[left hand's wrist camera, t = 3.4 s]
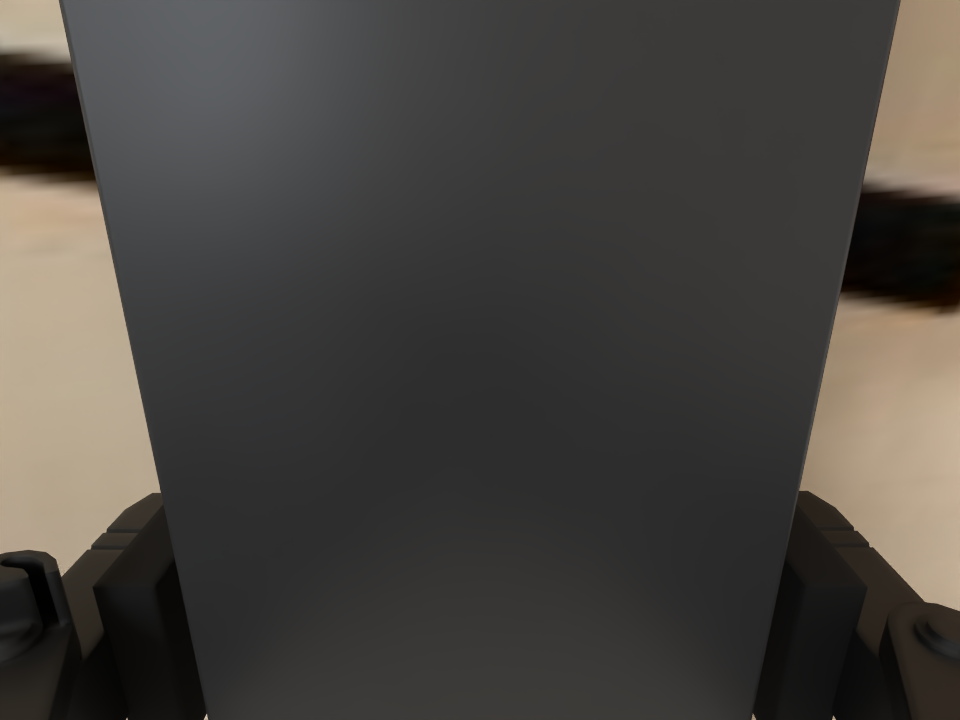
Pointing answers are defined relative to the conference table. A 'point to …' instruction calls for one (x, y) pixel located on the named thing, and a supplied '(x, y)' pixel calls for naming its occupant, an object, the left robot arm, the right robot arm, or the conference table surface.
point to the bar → (479, 334)
